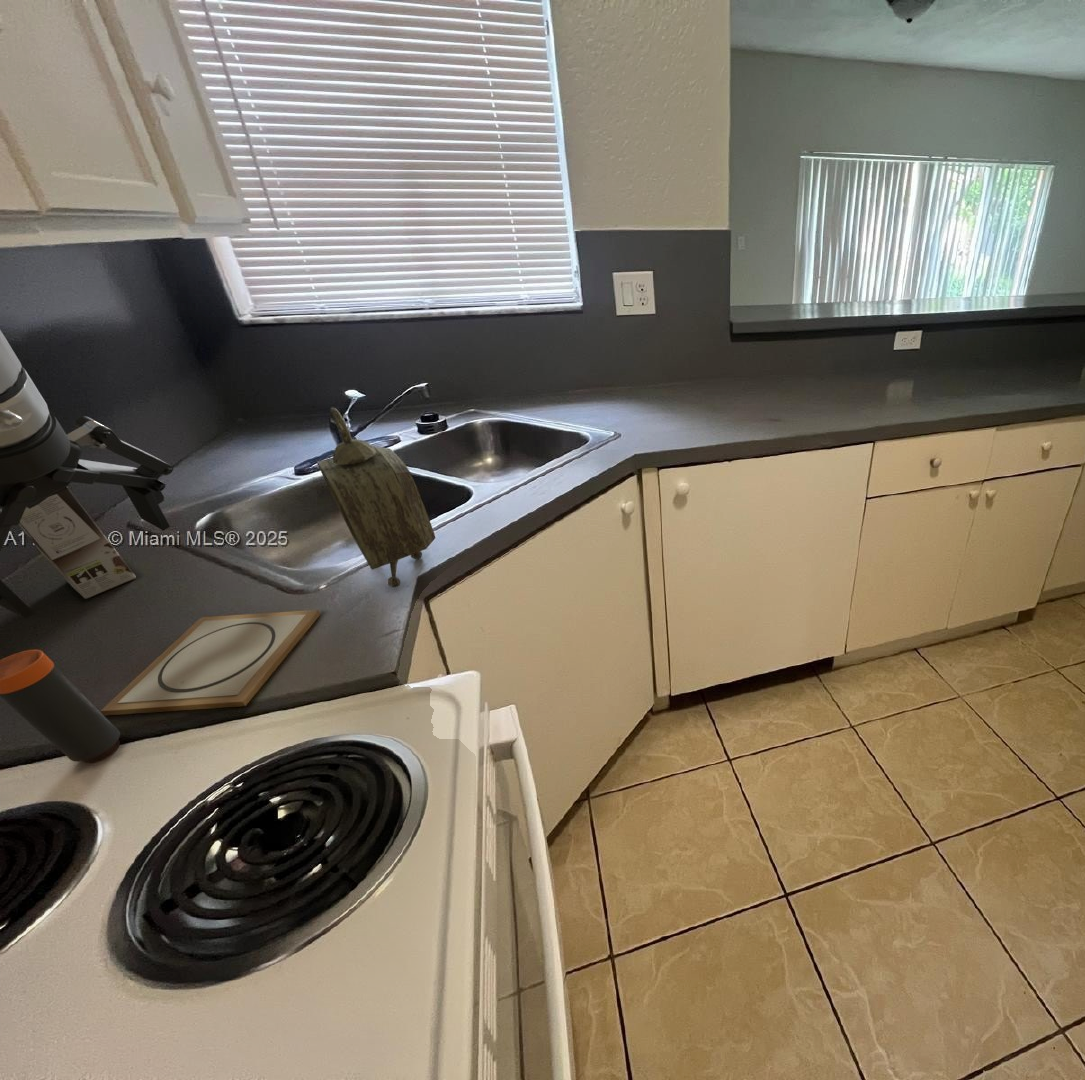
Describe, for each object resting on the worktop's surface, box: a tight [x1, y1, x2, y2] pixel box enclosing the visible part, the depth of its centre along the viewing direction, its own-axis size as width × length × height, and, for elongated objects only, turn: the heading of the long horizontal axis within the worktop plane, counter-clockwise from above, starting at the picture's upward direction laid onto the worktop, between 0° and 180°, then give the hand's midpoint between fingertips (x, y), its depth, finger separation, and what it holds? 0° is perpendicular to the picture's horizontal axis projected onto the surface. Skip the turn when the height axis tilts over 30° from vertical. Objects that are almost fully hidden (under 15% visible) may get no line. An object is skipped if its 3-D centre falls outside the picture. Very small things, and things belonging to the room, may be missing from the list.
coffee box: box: [17, 485, 137, 600], centre depth 83 cm, size 9×6×16 cm
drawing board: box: [99, 609, 322, 717], centre depth 71 cm, size 16×16×1 cm
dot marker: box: [0, 649, 121, 764], centre depth 57 cm, size 4×4×13 cm
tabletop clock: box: [316, 407, 436, 589], centre depth 80 cm, size 14×9×25 cm, turn 41°
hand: (92, 562), depth 61 cm, fingers open, 13 cm apart
